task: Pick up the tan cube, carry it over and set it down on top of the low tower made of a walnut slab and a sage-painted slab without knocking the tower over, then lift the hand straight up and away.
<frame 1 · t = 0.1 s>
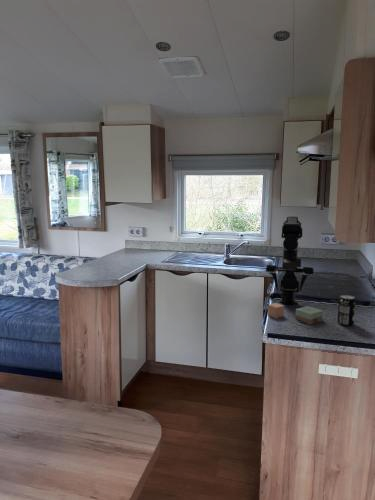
hand: (288, 290, 160), 15 cm above the counter, tool pointing down, fingers open, 9 cm apart
tan cube: (275, 315, 177), on the counter
walnut slab: (308, 320, 171), on the counter, touching sage slab
sage slab: (308, 315, 171), point 2 cm above the counter, touching walnut slab
beverage can: (345, 324, 167), on the counter
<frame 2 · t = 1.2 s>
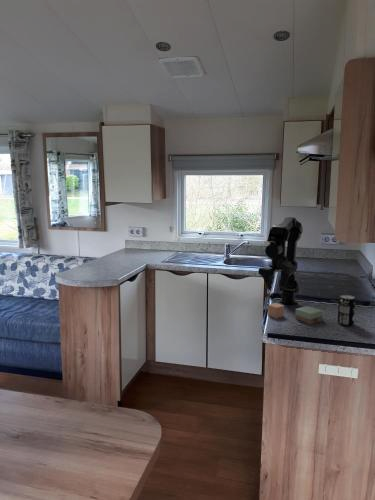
hand: (276, 288, 174), 13 cm above the counter, tool pointing down, fingers open, 9 cm apart
nothing on the counter moved.
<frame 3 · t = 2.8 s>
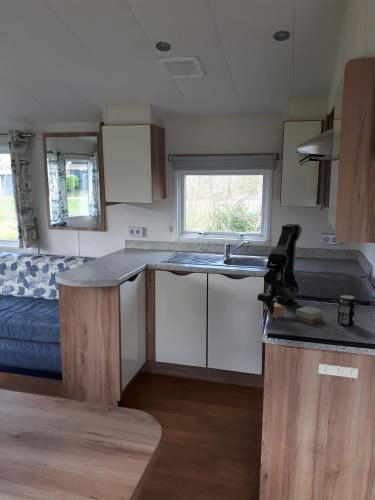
hand: (275, 313, 176), 1 cm above the counter, tool pointing down, fingers closed on tan cube, 5 cm apart
tan cube: (275, 315, 176), on the counter, touching gripper
everything else where it was.
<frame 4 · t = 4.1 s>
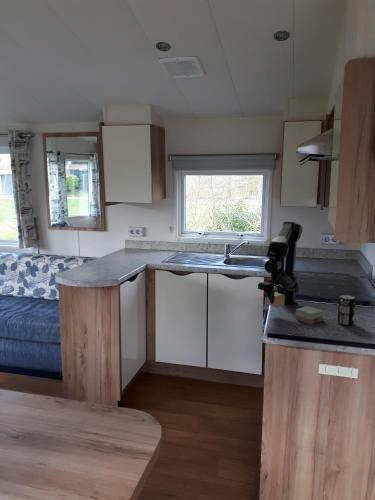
hand: (276, 302, 175), 6 cm above the counter, tool pointing down, fingers closed on tan cube, 5 cm apart
tan cube: (276, 305, 176), point 5 cm above the counter, touching gripper
everything else where it was.
when the fingers open (7 cm above the counter, at t = 7.9 s): tan cube drops 2 cm, resting on sage slab.
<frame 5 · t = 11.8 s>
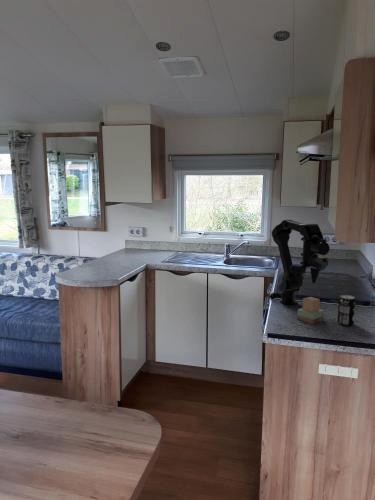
hand: (307, 284, 180), 13 cm above the counter, tool pointing down, fingers open, 9 cm apart
tan cube: (310, 310, 171), point 4 cm above the counter, touching sage slab
sage slab: (310, 315, 171), point 2 cm above the counter, touching tan cube, walnut slab
everything else where it was.
at the end: tan cube 0.2 cm off-centre on the walnut slab, point 5.0 cm above the walnut slab's base; tan cube tilted 0°; sage slab 0.2 cm from the walnut slab (horizontally) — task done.
